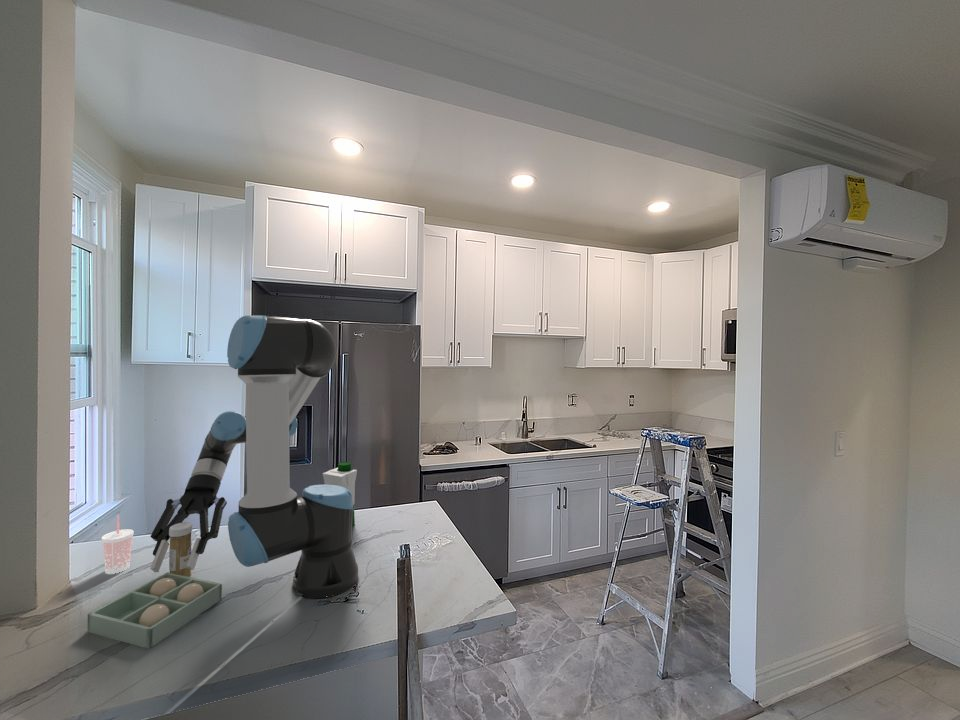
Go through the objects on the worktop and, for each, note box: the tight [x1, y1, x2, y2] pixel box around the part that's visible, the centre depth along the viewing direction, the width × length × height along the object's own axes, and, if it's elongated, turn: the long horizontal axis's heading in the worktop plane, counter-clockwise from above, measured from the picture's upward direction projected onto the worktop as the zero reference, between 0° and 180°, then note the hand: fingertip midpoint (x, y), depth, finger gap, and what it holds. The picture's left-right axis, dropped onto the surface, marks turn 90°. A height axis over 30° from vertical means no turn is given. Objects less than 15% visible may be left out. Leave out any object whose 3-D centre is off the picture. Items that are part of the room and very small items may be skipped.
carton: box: [86, 572, 223, 649], centre depth 86 cm, size 16×16×4 cm
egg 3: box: [177, 583, 204, 603], centre depth 88 cm, size 5×5×5 cm
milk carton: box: [322, 461, 358, 526], centre depth 132 cm, size 9×9×20 cm
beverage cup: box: [101, 514, 135, 575], centre depth 103 cm, size 6×6×14 cm
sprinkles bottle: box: [168, 521, 193, 577], centre depth 99 cm, size 5×5×14 cm
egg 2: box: [139, 604, 170, 627], centre depth 81 cm, size 5×5×5 cm
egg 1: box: [149, 578, 177, 597], centre depth 90 cm, size 5×5×5 cm
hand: (172, 569), depth 96 cm, fingers open, 7 cm apart
